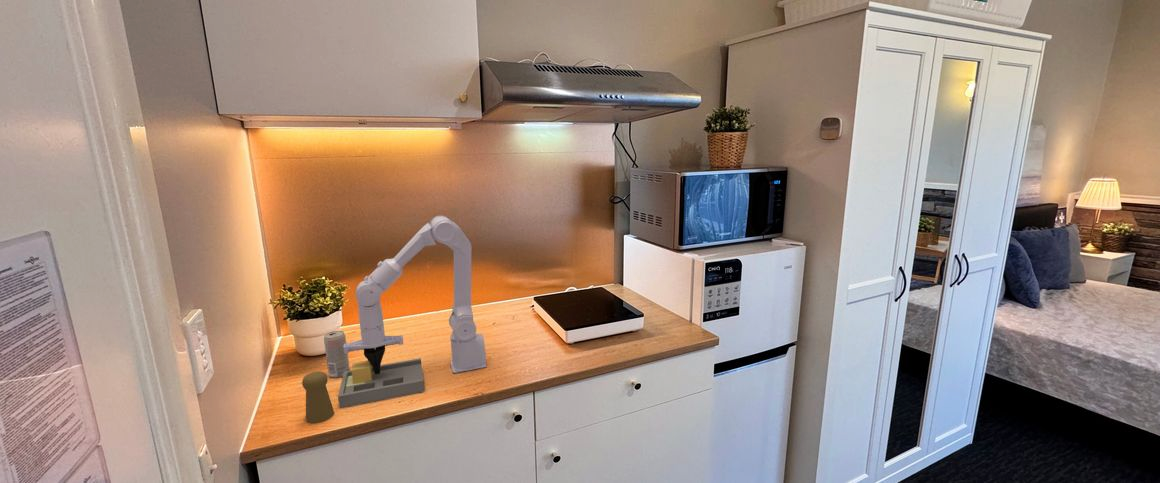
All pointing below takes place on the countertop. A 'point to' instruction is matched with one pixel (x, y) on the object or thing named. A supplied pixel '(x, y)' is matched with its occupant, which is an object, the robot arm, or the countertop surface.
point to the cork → (317, 398)
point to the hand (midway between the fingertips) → (377, 372)
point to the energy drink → (336, 353)
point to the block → (361, 372)
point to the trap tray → (383, 384)
